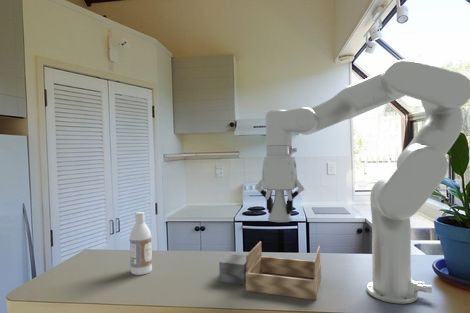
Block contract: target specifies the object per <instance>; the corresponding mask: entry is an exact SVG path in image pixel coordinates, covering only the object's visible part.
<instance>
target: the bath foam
mask: <svg viewBox="0 0 470 313" xmlns="http://www.w3.org/2000/svg"><path fill="white" fill-rule="evenodd" d="M134 217H135V224H134V226H133V227H132V229H131V231H130V233H129V234H130V235H129V252H130V254H129V255H130V261H129V262H130V273H131V274H132V275H134V276H142V275H146V274H149V273H151V272H152V270H153V252H152V250H153V248H152V246H153V245H152V232H151V230H150V229H149V228H150V227H149V226H148V225H147V223H146V222H145V219H146V218H145V211H137V212H135V216H134Z"/></svg>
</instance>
